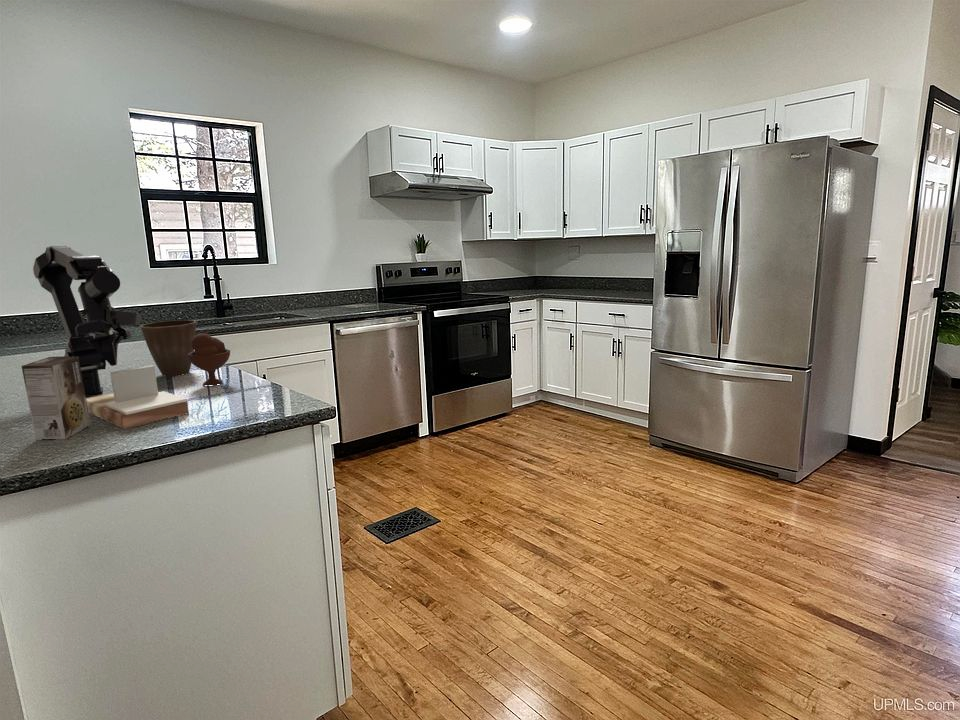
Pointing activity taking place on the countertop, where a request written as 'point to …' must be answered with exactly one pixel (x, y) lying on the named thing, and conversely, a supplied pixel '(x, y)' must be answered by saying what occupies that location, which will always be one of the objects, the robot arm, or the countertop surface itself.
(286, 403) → the countertop surface
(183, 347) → the plant pot
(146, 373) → the white l-shaped piece
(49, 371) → the coffee box
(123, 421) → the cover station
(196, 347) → the ice cream bowl
